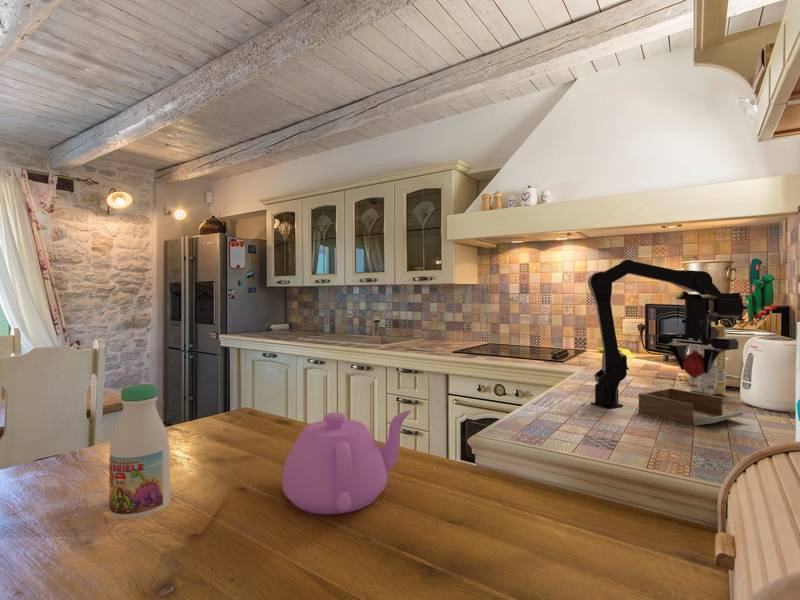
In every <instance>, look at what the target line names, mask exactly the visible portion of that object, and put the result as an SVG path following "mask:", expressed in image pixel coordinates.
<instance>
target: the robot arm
mask: <svg viewBox="0 0 800 600" xmlns="http://www.w3.org/2000/svg"><path fill="white" fill-rule="evenodd" d="M627 275H631V276H632V275H633V276H636V277H641V278H644V279H645V278H646V279H650V280H656V281H660V282H665V283H669V284H671V285H674V286H676V287H678V288H680V289H682V290H684V291H682V292H681V293H680V294H679V295H678V296H676V297H675V299H676V300H684V310H683V311H684V312H683V313H684V317H683V319H681V323H682V324H683V333H681V334H680V333H673V332H665V333H664V332H660V333H658V335H657V336H656V342H657V343H658V344H659V343H660V344H665V345H666V347H667V348H669V349H670V350H671V352H672V353H673V355H674V357H675V359H676V361H677V363H678V365H679V367H680V369H681V370H682V371H685V370H684V368H683V361H684V359H685V358H686V350H687V347H688V344H689V343H690V344H700V345H708V347H709V349H704V369H705V373H706V374H708V373H709V371H710V369H711V367H712V365H713V363H714V361H715V359H716V357H717V356H718V354H719V353H720V352H722V351H731V350H739V342H738V340H737V338H732V337H726V338H723V337H720V338H718V336H719V330H717V329H716V328H714V327H712V325H711V322H712V320H711V319H710V318H709V317H710V314H713V316H714V317H720V318H740V317H742V315H743V313H744V309H745V305H744V304H743V300H742V299H743V298H742V297H741V293H740V292H721V291H720V290H719V288H718V287H717V286H716V285H715V284H714V283H713V277H712V276H711V274H710V273H709V272H706V271H704V270H689V269H688V270H687V269H686V270H681V269H671V268H669V267H668V268H667V267H662V266H657V265H654V264H648V263H643V262H639V261H634V260H632V259H624V260H622V261H620V262H619V263H618V264H616V265H615V266H612V267H611V268H609V269H607V270H605V271H598V272H594V273H593V274H591V275H590V276H589V278H588V279H587V286H588V288H589V291H590V293H591V296H592V298H593V300H594V303H595V306H596V314H597V319H598V326H599V330H600V331H599V332H600V337H601V345H602V356H601V369H599V370H598V371H597V372H596V373H595V374H594V375H593V377H594V380H595V382H596V383H595V384H594V401H593V402H592V401H591V402H590V405H593V406H597V407H601V408H605V409H608V410H609V409H610V410H611V409H615V408H620V407H623V406H624V404H622V403H620V402H619V385H620V383H621V381H623V380H625V378H626V377H627V376H628V375H627V374H628V373H627V372H628V371H629V370H630V369H629V366H628V356H627V355H626V354H624V353H620V350H619V346H618V341H617V335H616V329H615V328H616V327H615V323H614V322H615V321H614V315H613V310H612V304H611V299H612V293H613V290H612V289H613V283H614V282H616V281H619V279H621V278H623V277H625V276H627ZM688 292H690V293H688ZM702 296H703V297H704V296H707V298H706V297H704V298H703V297H702ZM708 296H710V297H708ZM709 313H710V314H709ZM689 338H693V340H692V339H689ZM698 339H699V340H698Z"/></svg>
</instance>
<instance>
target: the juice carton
mask: <svg viewBox="0 0 800 600" xmlns="http://www.w3.org/2000/svg"><path fill="white" fill-rule="evenodd" d="M711 325H712V327H714V328H716V329H717V330H719V336H718V338H720V337H723V338H727V337H726V336H727V335H726V326H725V325H716V322H715V321H711ZM689 339H692V340H693V338H689ZM698 340H699V339H698ZM688 344H689V345H688V349H689V350H688V353H689V354H691V353H692V352H693V350H697V352H698V353H699V354H700V355H702V356H703V357H704V349H709V347H708V345H700V344H690V343H688ZM726 351H727V350H726ZM726 351H722V352H720V353H719V354H718V356H717V357H716V359H715V361H714V363H713V365H712V367H711V369H710V371H709V373H708V374H706V373H703V374H702V375H700V376H698V377H697V378H693V377H691V376H690V375H689V374H688V375H689V376H688V378H689V379H688V382H689V390H690V392H695V393H701V394H706V395H712V396H716V395H721V394H723V395H724V393H726V392H725V391H726V385H727V383H726V381H727V380H726V373H727V372H726V371H727V370H726V369H727V367H726V366H727V365H726V361H727V359H726V358H727V356H726V355H727V354H726ZM689 354H688V355H689Z"/></svg>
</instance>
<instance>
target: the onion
mask: <svg viewBox="0 0 800 600" xmlns="http://www.w3.org/2000/svg"><path fill="white" fill-rule="evenodd" d="M683 368H684V370H683V371H684V372H685V373H687V375H690V376H691V377H693V378H697V377H698V376H700V375H702V374H703V373H705V369H704V357H703V356H702V355H700V354H699V353H698V352H697V350H693V352H692V353H691V354H687V355H685V359H684V361H683Z"/></svg>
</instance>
